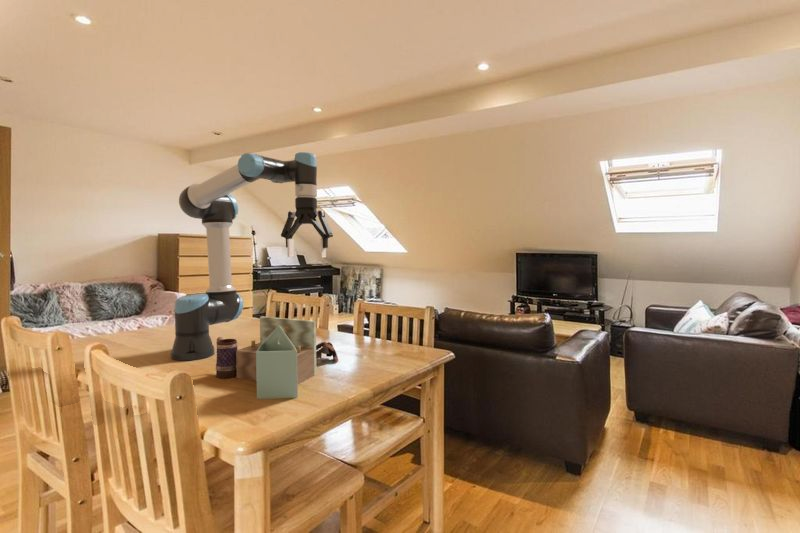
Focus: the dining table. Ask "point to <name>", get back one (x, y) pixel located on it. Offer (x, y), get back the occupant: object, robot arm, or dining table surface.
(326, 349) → the brown arched figurine
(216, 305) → the robot arm
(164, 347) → the dining table surface
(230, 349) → the mug
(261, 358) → the planter
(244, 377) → the wall shelf
